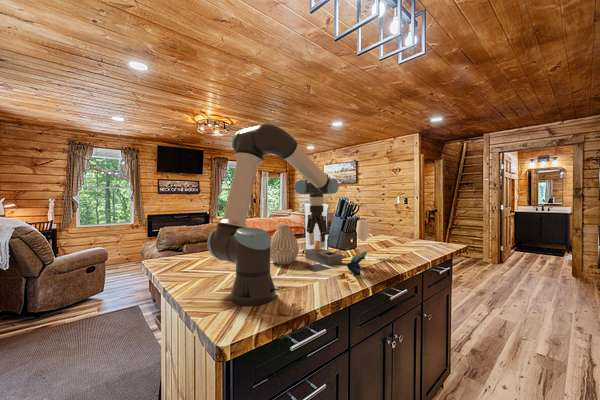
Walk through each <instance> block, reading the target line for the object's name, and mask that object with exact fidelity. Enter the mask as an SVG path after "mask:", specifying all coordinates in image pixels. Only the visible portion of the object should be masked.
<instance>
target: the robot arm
mask: <svg viewBox="0 0 600 400" xmlns="http://www.w3.org/2000/svg"><path fill="white" fill-rule="evenodd" d="M231 147H232V149H233V150H232V151H233V154H234V159H235V160H236V164H235V167H234V172H233V176H232V180H231V185H230V188H229V193H228V196H227V201H226V205H225V208H224V213H223V218H222V219H221V220H219V221H217V225H216V227H215V229H213V231H212V232H210V234H208V238H207V242H206V244H207V246H206V247H207V250H208V252H209V253H210V255H211V256H213V258H214V259H218V260H219V261H222V262H224V261H225V262H227V263H228V262H229V263H233V264H235V278H234V281H233V284H232V287H231V291H230V301H231V302H232V303H234V304H236V305H239V306H244V307H245V306H247V307H248V306H249V307H251V306H253V307H254V306H261V305H264V304H267V303H270V302H271V301H273V300H274V299H275V298H276V287H275V284H274V281H273V279H272V275H271V258H270V245H271V244H270V239H271V238H270V237H271V235H270V232H268V231H267V230H265V229H262V228H258V227H252V226H251V227H250V226H248V225H247V224H246V222H247V217H248V212H249V209H250V204H251V201H252V200H251V199H252V195H253V191H254V190H253V189H254V186H255V180H256V176H257V172H258V169H259V168H258V167H259V166H260V165H262V164H263V163H264V158H265V156H266V155H274V156H277V158H279V159H281V160H285V161H286V162H287V163H288V164H289V165H291V166H292V167H293V168H294V169H295V170H296V171H297V172H298V173H299V174H300V175H301V176H303V177H304V178H305V179H304V178H303V179H302V178H301V179H297V180H296V181H295V182H294V187H293V188H294V191H295V193H296V194H297V195H309V212H310V214H307V224H306V232H308V239H309V240H308V243H309V246H314V241H315V227H316V224H317V227H318V231H319V233H320V234H319V241H320V248H321V249H325V248H326V247H325V242H326V236H327V235H328V234H329V232H328V226H327V215H323V213H324V195H334V194H337V192H338V191H339V187H340V185H339V180H338V179H337V178H335V177H328V176H327V175H326V173H325V172H324V171H323V170H322V169H321V168H320V167H319V166H318V165H317V164H316V163H315V162H314V161H313V160H312V159H311V158H310V157H309V156H308V155H307V154H306V153H305V152H304V151H303V150H302V149H301V148H300V147H299V146H298V142H297V140H296V139H295V137H293V136H292V134H290V133H288V131H286V130H285V129H283V128H281V127H279V126H278V125H275V124H272V123H260V124H258V125H255V126H250V127H244V128H242V129H240V130H237V132H236V133H235V134H234V135H233V137H232V140H231Z"/></svg>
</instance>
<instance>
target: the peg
mask: <svg viewBox="0 0 600 400" xmlns="http://www.w3.org/2000/svg"><path fill="white" fill-rule="evenodd" d="M313 246H314V248H313V249H314V251H320V240H314V245H313Z"/></svg>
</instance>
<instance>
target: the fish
mask: <svg viewBox="0 0 600 400" xmlns="http://www.w3.org/2000/svg"><path fill="white" fill-rule="evenodd" d="M367 253H368V251H363V252H361V253H360V254H355V255H354V256H352V258H351V260H350V262H347V263H346V266H347V269H348V270H349V272H351V273H352V274H354V275H356V276H358V275H360V274H361V273H362V272H361V271H362V270H361V265H360V262H362V261H363V260H364V261H366V257H367Z"/></svg>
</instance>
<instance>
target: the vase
mask: <svg viewBox="0 0 600 400" xmlns="http://www.w3.org/2000/svg"><path fill="white" fill-rule="evenodd" d="M270 244H271V245H270V261H272V262H273V263H274V264H276V265H281V266H282V265H285V266H286V265H290V264H293V262H295V260H296V259H297V258H298V255H299V249H300V248H299V242H298V240H297V238H296V236H295V234H294V233H293V232H292V230H291V229H290V226H289V224H287V223H282V224H278V225H277V227H276V230H275V231H274V233H273V234H272V236H271V238H270Z"/></svg>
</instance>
